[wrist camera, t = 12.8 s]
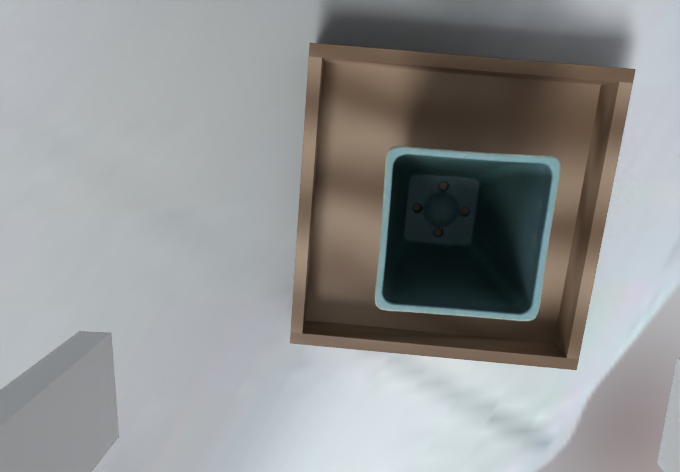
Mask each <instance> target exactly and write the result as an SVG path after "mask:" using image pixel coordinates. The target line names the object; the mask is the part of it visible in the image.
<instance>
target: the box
mask: <svg viewBox="0 0 680 472" xmlns="http://www.w3.org/2000/svg"><path fill="white" fill-rule="evenodd" d="M634 74H635V69H627V68H615V67H602V66H590V65H578V64H565V63H553V62H541V61H528V60H516V59H503V58H491V57H479V56H466V55H454V54H442V53H429V52H417V51H405V50H392V49H380V48H367V47H355V46H343V45H330V44H318V43H310V47H309V62H308V78H307V93H306V108H305V123H304V138H303V153H302V169H301V184H300V199H299V214H298V229H297V244H296V259H295V275H294V290H293V305H292V320H291V335H290V343H293V344H304V345H314V346H325V347H336V348H346V349H357V350H368V351H378V352H389V353H400V354H410V355H421V356H432V357H443V358H453V359H464V360H475V361H485V362H496V363H507V364H517V365H528V366H539V367H549V368H560V369H571V370H577V365H578V360H579V355H580V350H581V345H582V340H583V334H584V329H585V324H586V319H587V314H588V309H589V304H590V299H591V294H592V289H593V283H594V278H595V273H596V268H597V263H598V258H599V253H600V248H601V243H602V238H603V232H604V227H605V222H606V217H607V212H608V207H609V202H610V197H611V192H612V186H613V181H614V176H615V171H616V166H617V161H618V156H619V151H620V146H621V141H622V135H623V130H624V125H625V120H626V115H627V110H628V105H629V100H630V95H631V90H632V84H633V79H634ZM394 146H409V147H419V148H429V149H442V150H455V151H470V152H483V153H501V154H521V155H545V156H554V157H557V158H558V159H559V160H560V164H561V172H560V179H559V185H558V190H557V196H556V202H555V209H554V215H553V220H552V227H551V231H550V238H549V246H548V252H547V257H546V264H545V272H544V279H543V288H542V295H541V303H540V308H539V312H538V314H537V316H536V318H535V319H533V320H531V321H515V320H504V319H493V318H480V317H468V316H455V315H442V314H430V313H415V312H401V311H387V310H381V309H379V308H378V307H377V306H376V304H375V287H376V280H377V269H378V258H379V246H380V233H381V220H382V207H383V194H384V178H385V160H386V155H387V152H388V150H389V149H390V148H392V147H394ZM439 187H440V189H442V190H445V189H446V188H447V184H446V183H445V182H442V183H440V185H439ZM413 208H414V210H415V211H419V210H420V209H421V206H420V205H419V204H415V205H414V207H413ZM467 213H468V208H466V207H463V208H462V209H461V214H463V215H466V214H467ZM435 234H436V235H441V234H442V230H441V229H436V230H435Z"/></svg>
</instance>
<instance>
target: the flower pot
mask: <svg viewBox="0 0 680 472" xmlns="http://www.w3.org/2000/svg"><path fill="white" fill-rule="evenodd" d="M560 172H561V164H560V160H559V159H558V158H557V157H554V156H545V155H521V154H501V153H483V152H470V151H455V150H442V149H429V148H419V147H409V146H394V147H392V148H390V149H389V150H388V152H387V155H386V160H385V178H384V194H383V207H382V220H381V233H380V246H379V258H378V269H377V280H376V287H375V304H376V306H377V307H378V308H379V309H381V310H387V311H401V312H415V313H430V314H442V315H455V316H468V317H480V318H493V319H504V320H515V321H531V320H533V319H535V318H536V316H537V314H538V312H539V308H540V303H541V295H542V288H543V279H544V272H545V264H546V257H547V252H548V246H549V238H550V231H551V227H552V220H553V215H554V209H555V202H556V196H557V190H558V185H559V179H560ZM442 182H445V183H446V184H447V188H446V189H445V190H442V189H440V187H439V185H440V183H442ZM415 204H419V205H420V206H421V209H420V210H419V211H415V210H414V208H413V207H414V205H415ZM463 207H466V208H468V213H467V214H466V215H463V214H461V209H462V208H463ZM436 229H441V230H442V234H441V235H436V234H435V230H436Z"/></svg>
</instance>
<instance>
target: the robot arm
mask: <svg viewBox="0 0 680 472" xmlns="http://www.w3.org/2000/svg"><path fill="white" fill-rule="evenodd" d="M118 437H119V430H118V416H117V403H116V390H115V376H114V363H113V349H112V336H111V333H105V332H83V331H79V332H78V333H77V334H75V335H74V336H73V337H71V338H70V339H69V340H67V341H66V342H64V343H63V344H62V345H60V346H59V347H58V348H56V349H55V350H54V351H52V352H51V353H50V354H48V355H47V356H46V357H44V358H43V359H42V360H40V361H39V362H38V363H36V364H35V365H33V366H32V367H31V368H29V369H28V370H27V371H25V372H24V373H23V374H21V375H20V376H19V377H17V378H16V379H15V380H13V381H12V382H11V383H9V384H8V385H7V386H5V387H4V388H2V389H1V390H0V472H92V471H93V469H94V468H95V467H96V465H97V464H98V463H99V462H100V460H101V459H102V458H103V456H104V455H105V454H106V452H107V451H108V450H109V449H110V447H111V446H112V445H113V443H114V442H115V441H116V440H117V438H118ZM657 464H658V465H659V467H660V468H661V469H662V470H663V471H664V472H680V358H677V362H676V367H675V373H674V378H673V383H672V388H671V393H670V399H669V404H668V410H667V415H666V420H665V425H664V430H663V436H662V441H661V446H660V451H659V457H658V462H657Z"/></svg>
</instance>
